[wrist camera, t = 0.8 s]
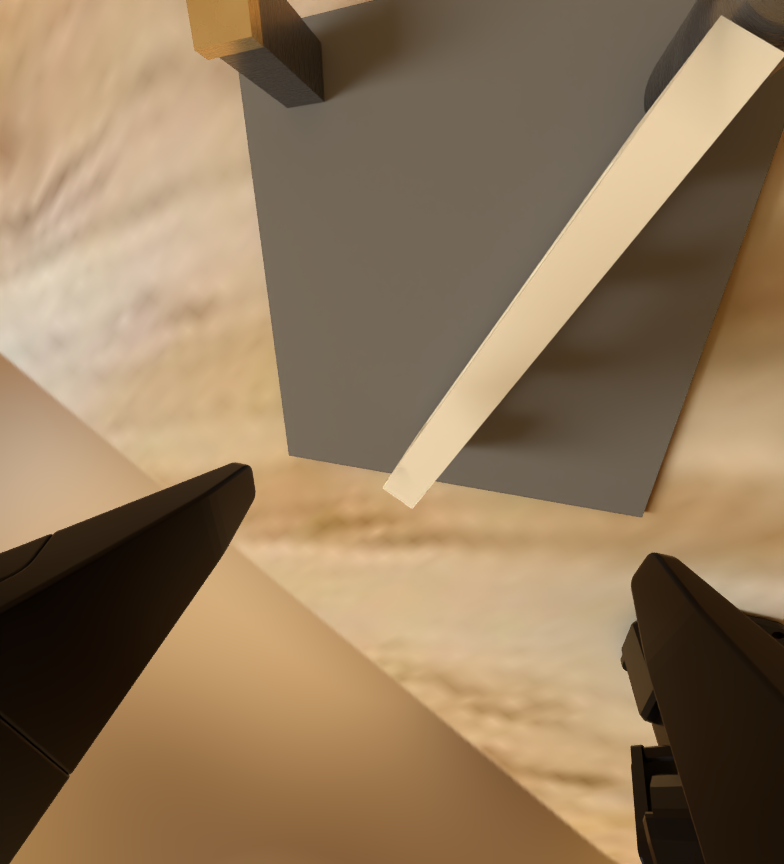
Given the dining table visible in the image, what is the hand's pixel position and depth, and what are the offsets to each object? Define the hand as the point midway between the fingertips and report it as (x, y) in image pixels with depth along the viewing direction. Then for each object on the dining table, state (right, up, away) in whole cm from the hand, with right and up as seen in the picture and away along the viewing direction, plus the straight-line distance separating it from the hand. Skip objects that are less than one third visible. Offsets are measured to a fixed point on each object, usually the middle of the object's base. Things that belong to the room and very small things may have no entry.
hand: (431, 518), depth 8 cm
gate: (+5, +7, +9) cm, 12 cm away
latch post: (-5, +18, +8) cm, 21 cm away
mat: (+2, +9, +10) cm, 14 cm away
